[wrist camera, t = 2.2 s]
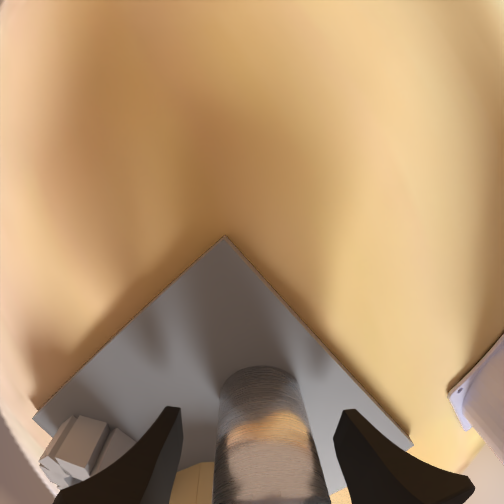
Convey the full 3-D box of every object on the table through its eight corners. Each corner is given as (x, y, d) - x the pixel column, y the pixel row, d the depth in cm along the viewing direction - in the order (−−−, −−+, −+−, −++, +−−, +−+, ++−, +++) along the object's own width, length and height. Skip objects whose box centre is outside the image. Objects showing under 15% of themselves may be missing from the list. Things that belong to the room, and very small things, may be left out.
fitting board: (225, 234, 13) (214, 264, 8) (409, 436, 16) (435, 480, 11) (37, 411, 15) (8, 450, 10) (218, 525, 18) (217, 563, 14)
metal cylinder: (266, 350, 13) (284, 478, 6) (315, 396, 13) (351, 507, 7) (203, 393, 13) (185, 512, 6) (255, 432, 14) (263, 539, 7)
